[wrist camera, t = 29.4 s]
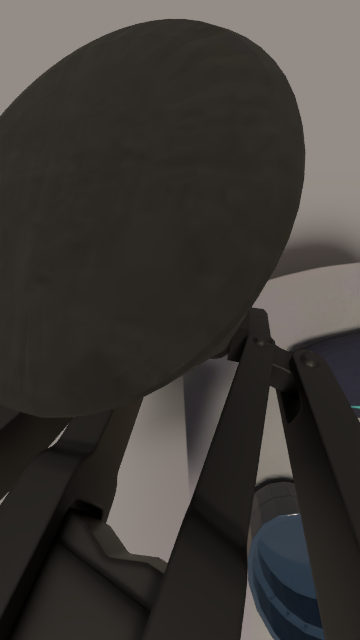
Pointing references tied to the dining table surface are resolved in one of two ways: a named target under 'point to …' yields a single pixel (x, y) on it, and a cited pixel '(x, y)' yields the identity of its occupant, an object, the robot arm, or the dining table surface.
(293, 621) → the bowl
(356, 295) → the dining table surface
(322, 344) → the portable speaker
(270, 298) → the dining table surface
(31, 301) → the flashlight
